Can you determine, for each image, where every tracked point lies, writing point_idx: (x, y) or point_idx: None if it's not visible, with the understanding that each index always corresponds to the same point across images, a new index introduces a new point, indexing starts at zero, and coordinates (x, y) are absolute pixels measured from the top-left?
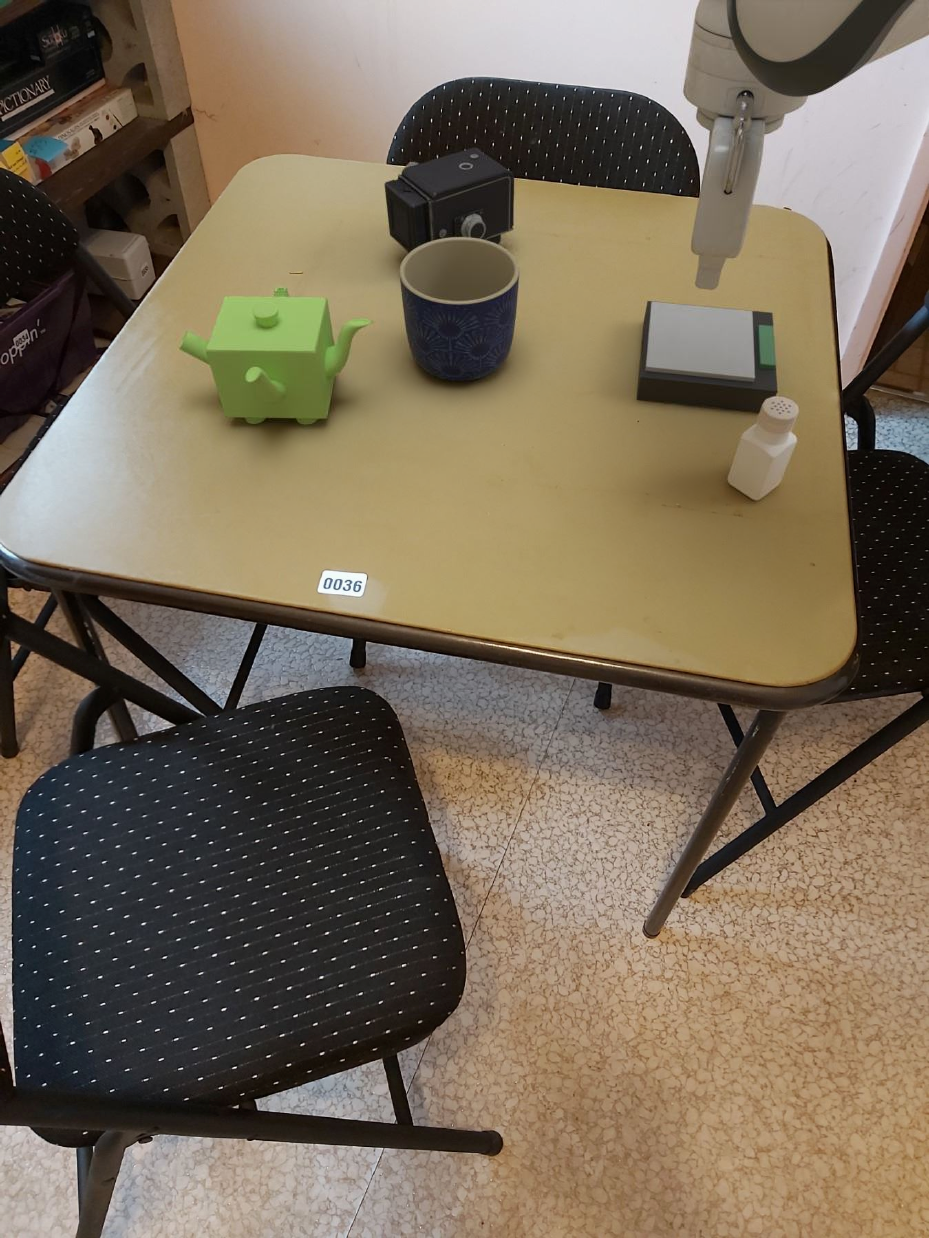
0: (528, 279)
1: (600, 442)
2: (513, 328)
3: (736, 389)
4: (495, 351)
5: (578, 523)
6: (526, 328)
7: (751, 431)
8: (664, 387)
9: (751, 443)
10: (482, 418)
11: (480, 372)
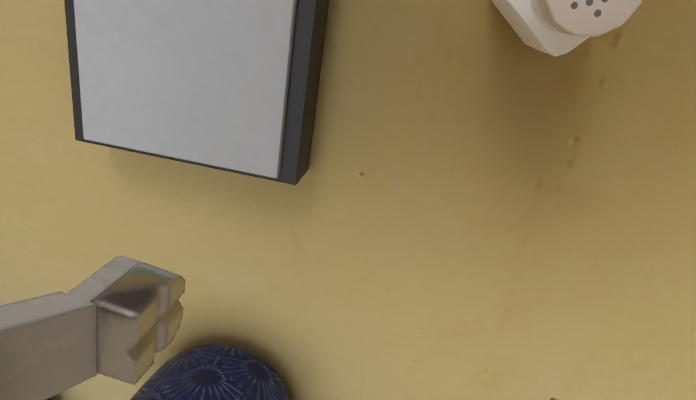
0: (34, 287)
1: (411, 237)
2: (217, 379)
3: (317, 3)
4: (265, 397)
5: (589, 291)
6: None
7: (554, 36)
8: (305, 137)
9: (584, 39)
10: (357, 378)
11: (284, 392)
